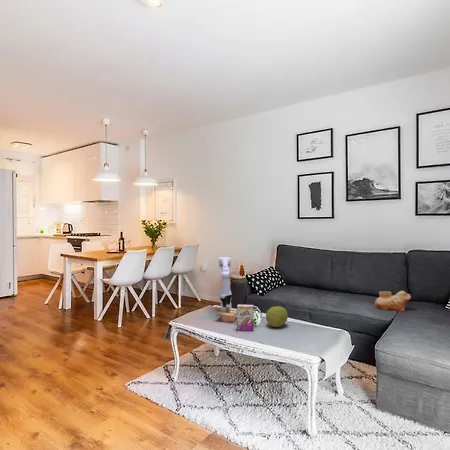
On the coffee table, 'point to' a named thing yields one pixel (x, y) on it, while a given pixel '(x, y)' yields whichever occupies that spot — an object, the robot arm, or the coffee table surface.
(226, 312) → the oak lid
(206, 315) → the grey flat square slab
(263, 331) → the coffee table surface
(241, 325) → the candy bar box
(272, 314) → the fruit
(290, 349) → the coffee table surface
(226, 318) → the terracotta bowl
